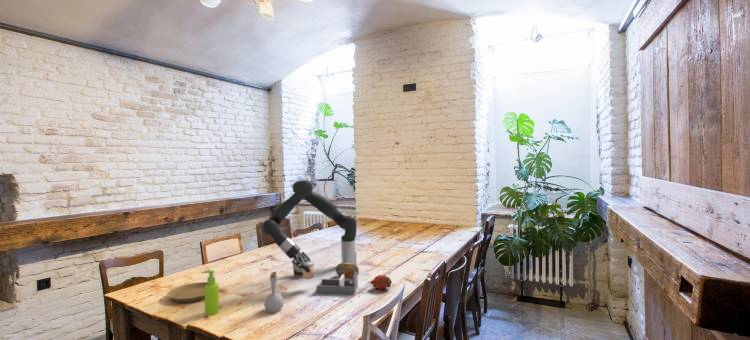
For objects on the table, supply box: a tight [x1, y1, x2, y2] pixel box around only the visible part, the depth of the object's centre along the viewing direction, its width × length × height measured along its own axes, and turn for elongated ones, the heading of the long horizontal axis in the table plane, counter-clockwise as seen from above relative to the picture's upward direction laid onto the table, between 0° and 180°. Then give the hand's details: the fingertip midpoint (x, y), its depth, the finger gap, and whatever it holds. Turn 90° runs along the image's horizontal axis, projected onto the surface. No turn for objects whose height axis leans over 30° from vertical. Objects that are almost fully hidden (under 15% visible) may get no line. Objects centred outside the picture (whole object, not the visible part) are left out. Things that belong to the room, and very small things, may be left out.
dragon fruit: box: [369, 274, 393, 291], centre depth 193 cm, size 8×8×12 cm
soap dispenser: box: [201, 269, 220, 316], centre depth 165 cm, size 6×7×20 cm
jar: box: [302, 260, 315, 280], centre depth 194 cm, size 6×6×8 cm
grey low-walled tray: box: [316, 272, 359, 296], centre depth 192 cm, size 20×11×9 cm, turn 84°
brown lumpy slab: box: [336, 262, 360, 280], centre depth 213 cm, size 15×3×8 cm, turn 62°
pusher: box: [339, 274, 345, 286], centre depth 192 cm, size 1×8×6 cm, turn 174°
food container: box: [291, 258, 312, 277], centre depth 219 cm, size 12×6×10 cm, turn 84°
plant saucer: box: [166, 281, 207, 304], centre depth 187 cm, size 24×24×3 cm
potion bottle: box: [263, 271, 285, 314], centre depth 168 cm, size 9×9×18 cm
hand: (311, 269), depth 194 cm, fingers closed on jar, 6 cm apart
